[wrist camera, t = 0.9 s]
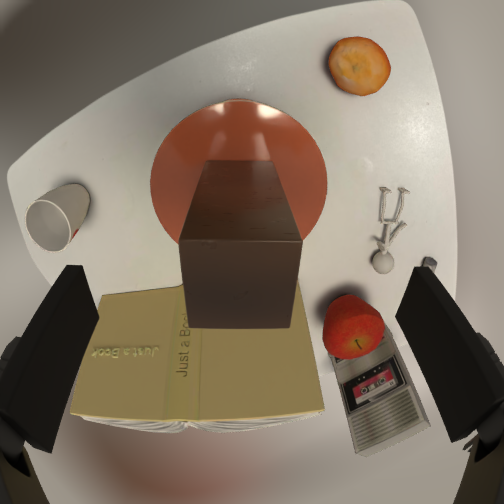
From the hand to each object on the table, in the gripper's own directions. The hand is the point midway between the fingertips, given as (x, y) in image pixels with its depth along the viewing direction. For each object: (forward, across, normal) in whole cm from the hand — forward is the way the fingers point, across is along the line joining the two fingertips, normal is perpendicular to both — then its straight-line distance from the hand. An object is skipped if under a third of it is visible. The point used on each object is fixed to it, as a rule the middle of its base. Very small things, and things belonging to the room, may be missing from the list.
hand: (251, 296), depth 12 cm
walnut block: (+14, 0, -1) cm, 14 cm away
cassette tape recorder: (+34, +26, -42) cm, 60 cm away
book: (+34, -8, -29) cm, 45 cm away
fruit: (+34, +14, +11) cm, 38 cm away
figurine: (+34, +25, -14) cm, 44 cm away
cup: (+34, -26, -9) cm, 44 cm away
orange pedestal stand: (+34, 0, -1) cm, 34 cm away
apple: (+34, +20, -30) cm, 49 cm away
